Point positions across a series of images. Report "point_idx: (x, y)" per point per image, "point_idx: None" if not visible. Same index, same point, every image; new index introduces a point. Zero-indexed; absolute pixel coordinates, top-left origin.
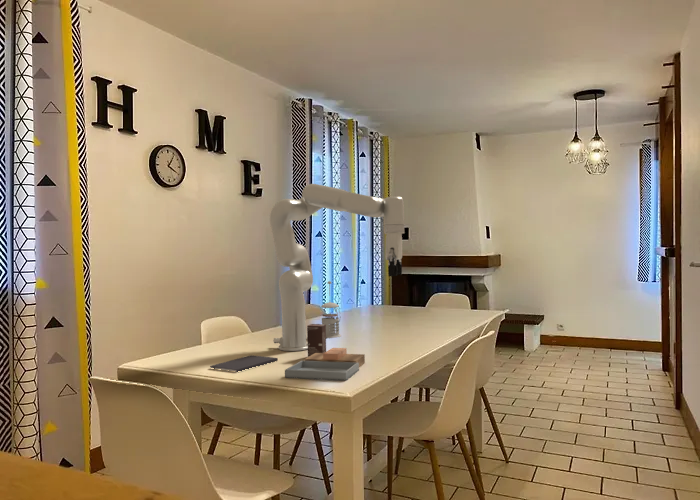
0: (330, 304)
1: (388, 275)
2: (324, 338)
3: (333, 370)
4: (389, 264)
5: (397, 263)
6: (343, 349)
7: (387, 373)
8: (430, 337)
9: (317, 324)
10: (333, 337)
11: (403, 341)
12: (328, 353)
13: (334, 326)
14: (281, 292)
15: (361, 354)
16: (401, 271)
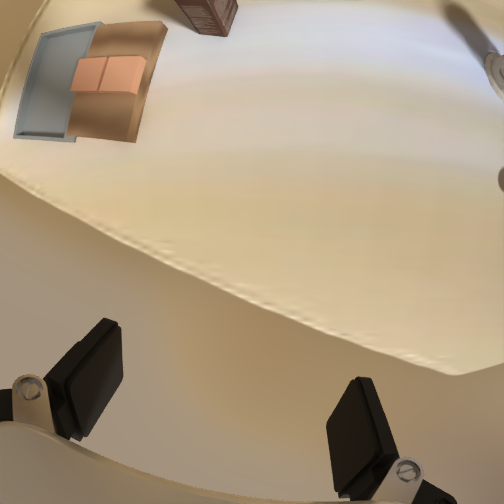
0: None
1: (103, 318)
2: (203, 14)
3: (66, 96)
4: (25, 385)
5: (360, 487)
6: (113, 88)
7: (56, 202)
8: (454, 321)
9: None
10: (488, 78)
11: (429, 254)
12: (76, 70)
13: None
14: None
15: (125, 134)
16: (331, 443)
